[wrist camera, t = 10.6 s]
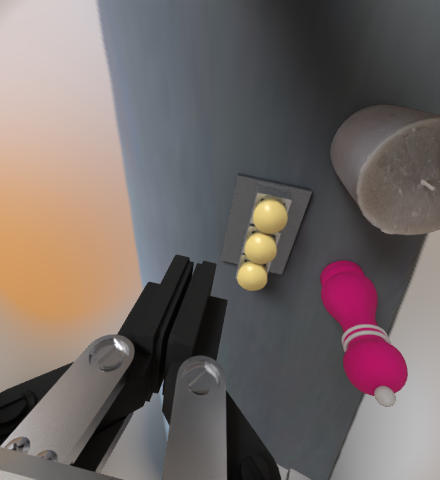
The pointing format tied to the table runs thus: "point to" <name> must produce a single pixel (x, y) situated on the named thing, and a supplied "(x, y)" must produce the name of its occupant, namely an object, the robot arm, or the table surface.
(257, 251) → the knob
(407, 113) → the pillar candle
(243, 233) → the mount plate
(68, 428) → the robot arm
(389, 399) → the pepper mill
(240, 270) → the knob
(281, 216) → the knob
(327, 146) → the table surface
